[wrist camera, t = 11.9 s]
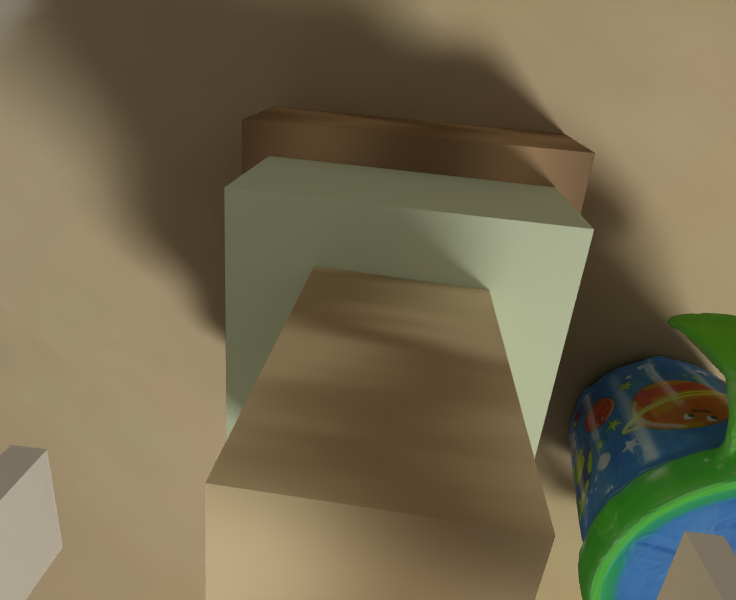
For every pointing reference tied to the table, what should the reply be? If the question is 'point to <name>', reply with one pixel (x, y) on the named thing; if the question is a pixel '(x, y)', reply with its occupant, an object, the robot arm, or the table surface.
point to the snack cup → (655, 462)
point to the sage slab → (401, 257)
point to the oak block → (379, 455)
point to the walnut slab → (421, 148)
